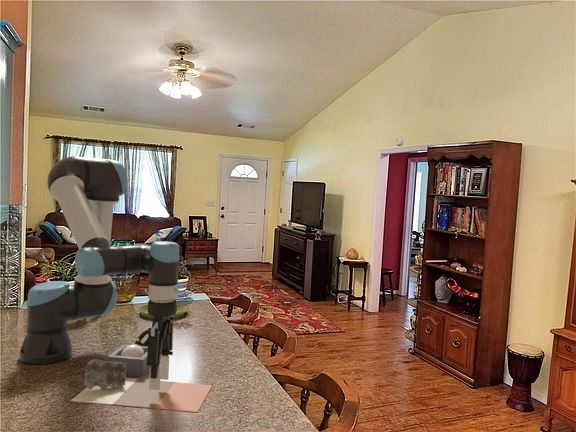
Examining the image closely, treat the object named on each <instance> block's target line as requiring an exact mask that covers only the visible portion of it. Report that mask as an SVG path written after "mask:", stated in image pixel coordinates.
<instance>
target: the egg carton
mask: <svg viewBox="0 0 576 432" xmlns="http://www.w3.org/2000/svg"><path fill="white" fill-rule="evenodd" d="M126 370H127V363H126V362H120V363H117V362H113V361H107V360H102V359H98V358H93V359H92V360H89V361H88V362H87V366H86V369H85V372H84V377H85V379H84V383H83V385H84V386H86V388H87V387H88V389H92V388H93V387H94V386H99V387H100V388H101V390H102V389H106V388H107V387H113V388H114V389H119V387H122V386H123V385H125V380H126V378H127V375H126Z"/></svg>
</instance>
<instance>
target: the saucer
mask: <svg viewBox="0 0 576 432" xmlns="http://www.w3.org/2000/svg"><path fill="white" fill-rule="evenodd" d="M177 310H178V311H181V312H179V313H178V312H176V314H175V315H172V316H174V319H176V318H177V319H178V318H179V317H182V316H184V314H185V313H186V312H187V311H188V308H187V307H186V306H184V305H181V304H178V303H177ZM138 311H139V313H140V315H141V316H142V317H144V318H147V319H151V320H152V319H153V320H154V317H153V316H151V315H149V314H148V304H145V305H141V306H139V308H138ZM146 312H147V313H146Z"/></svg>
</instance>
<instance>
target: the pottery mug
mask: <svg viewBox="0 0 576 432" xmlns="http://www.w3.org/2000/svg"><path fill="white" fill-rule="evenodd" d="M145 336H148V329H146V330H144V331H142V332H141V333H140V335H138V337H137V338H138V340H136V341H135V342H134V344H135V345H139V346H148V337H147V338H146V340H145V341H144V342H143V343H142V340H143V338H145Z"/></svg>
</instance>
